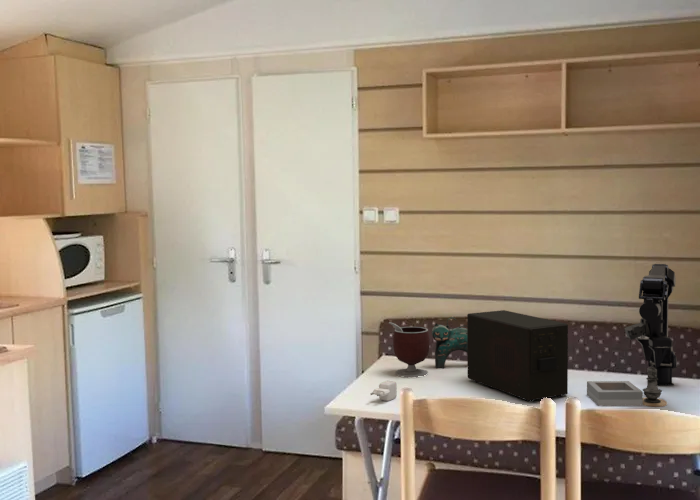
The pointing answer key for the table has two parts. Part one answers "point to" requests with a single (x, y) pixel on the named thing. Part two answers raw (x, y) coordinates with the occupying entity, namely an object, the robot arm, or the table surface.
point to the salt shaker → (652, 387)
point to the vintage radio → (518, 354)
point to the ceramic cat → (448, 342)
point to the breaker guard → (614, 393)
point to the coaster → (662, 403)
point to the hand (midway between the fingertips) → (652, 363)
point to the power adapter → (386, 390)
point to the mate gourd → (411, 348)
